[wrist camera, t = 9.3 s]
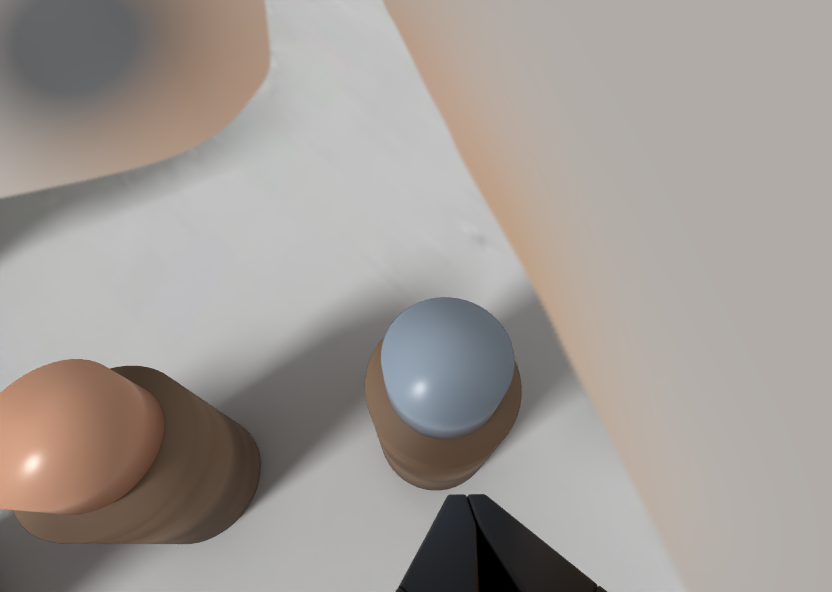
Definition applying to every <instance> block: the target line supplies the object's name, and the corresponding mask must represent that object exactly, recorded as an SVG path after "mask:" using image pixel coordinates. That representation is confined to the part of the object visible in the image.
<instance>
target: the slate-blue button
mask: <svg viewBox="0 0 832 592" xmlns="http://www.w3.org/2000/svg"><path fill="white" fill-rule="evenodd" d="M381 365H382V371H383V376H384V382H385V387H386V392H387V396H388V399H389V402H390V404H391V406H392V408H393V410H394V412H395V413H396V415H397V416H398V417H399V418H400V419H401V420H402V422H403V423H404V424H406V425H407V426H408V427H409V428H411V429H412V430H414V431H416V432H417V433H420V434H422V435H424V436H427V437H431V438H436V439H455V438H460V437H463V436H466V435H469V434H471V433H473V432H475V431H476V430H478V429H479V428H481V427H482V426H483V425H484V424H485V423H486V422H487V421H488V420H489V419H490V418H491V416H492V415H493V413H494V412H495V410H496V408H497V407H498V405H499V403H500V402H501V400H502V398H503V397H504V395H505V393H506V392H507V390H508V388H509V386H510V383H511V380H512V377H513V373H514V351H513V347H512V344H511V341H510V339H509V336H508V334H507V332H506V331H505V329H504V328H503V326H502V325H501V324H500V322H499V321H498V320H497V319H496V318H495V317H494V316H493V315H492V314H490V313H489V312H488V311H487V310H485V309H483V308H482V307H480V306H478V305H476V304H474V303H472V302H469V301H466V300H462V299H457V298H433V299H429V300H425V301H422V302H419V303H417V304H415V305H413V306H411V307H409V308H408V309H406V310H405V311H404V312H402V313H401V314H400V315H399V316H398V317H397V318H396V319H395V320H394V321H393V323H392V324H391V326H390V327H389V329H388V331H387V333H386V335H385V338H384V341H383V344H382V350H381Z"/></svg>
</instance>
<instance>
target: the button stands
mask: <svg viewBox="0 0 832 592" xmlns="http://www.w3.org/2000/svg"><path fill="white" fill-rule="evenodd" d="M384 338H385V337H384ZM384 338H383V339H382V340H381V341H380V343H379V344H378V346H377V347H376V349H375V350H374V352H373V354H372V356H371V358H370V361H369V364H368V367H367V372H366V377H365V395H366V401H367V406H368V409H369V412H370V415H371V418H372V420H373V423H374V426H375V429H376V432H377V435H378V438H379V441H380V444H381V447H382V449H383V452H384V455H385V457H386V459H387V461H388V463H389V465H390V466H391V467H392V469H393V470H394V471H395V472H396V473H397V474H398V475H399V476H400V477H401V478H402V479H403V480H405V481H407V482H408V483H410V484H412V485H414V486H416V487H419V488H422V489H427V490H445V489H450V488H453V487H456V486H458V485H460V484H462V483H464V482H465V481H467V480H468V479H469V478H471V477H472V476H473V475H474V474H475V473H476V471H477V470H478V469H479V468H480V467H481V466H482V464H483V463H484V462H485V461H486V460H487V458H488V457H489V456H490V455H491V453H492V452H493V451H494V450H495V449H496V447H497V446H498V445H499V444H500V443H501V441H502V440H503V439H504V438H505V437H506V435H507V434H508V433H509V431H510V430H511V428H512V426H513V425H514V422H515V420H516V418H517V415H518V412H519V408H520V403H521V379H520V374H519V370H518V367H517V364H516V362H515V360H514V373H513V377H512V380H511V383H510V386H509V388H508V390H507V392H506V393H505V395H504V397H503V398H502V400H501V402H500V403H499V405H498V407H497V408H496V410H495V412H494V413H493V415H492V416H491V418H490V419H489V420H488V421H487V422H486V423H485V424H484V425H483V426H482V427H481V428H479V429H478V430H476V431H475V432H473V433H471V434H469V435H466V436H463V437H460V438H455V439H436V438H431V437H427V436H424V435H422V434H420V433H417V432H416V431H414V430H412V429H411V428H409V427H408V426H407V425H406V424H404V423H403V422H402V420H401V419H400V418H399V417H398V416H397V415H396V413H395V412H394V410H393V408H392V406H391V404H390V402H389V399H388V396H387V392H386V387H385V382H384V376H383V371H382V365H381V350H382V344H383V341H384ZM111 370H112V371H114V372H116V373H118V374H119V375H121V376H123V377H124V378H126V379H128V380H130V381H131V382H133V383H135V384H137V385H138V386H140V387H142V388H144V389H145V390H147V391H148V392H150V393H151V394H152V395H153V396H154V397H155V398H156V400H157V401H158V403H159V405H160V407H161V409H162V413H163V417H164V434H163V440H162V443H161V446H160V449H159V452H158V454H157V456H156V458H155V460H154V462H153V464H152V465H151V467H150V468H149V470H148V471H147V473H146V474H145V475H144V476H143V478H142V479H141V480H140V481H139V482H138V483H137V484H136V485H135V486H134V487H133V488H132V489H131V490H130V491H129V492H128V493H126V494H125V495H124V496H122V497H121V498H119V499H118V500H116V501H115V502H113V503H111V504H110V505H108V506H106V507H104V508H101V509H99V510H96V511H93V512H89V513H85V514H78V515H65V514H54V513H42V512H31V511H19V510H13V512H14V514H15V516H16V518H17V520H18V521H19V522H20V524H21V525H22V526H23V527H24V528H25V529H26V530H27V531H28V532H29V533H31V534H33V535H34V536H36V537H38V538H40V539H43V540H46V541H49V542H55V543H76V544H192V543H199V542H202V541H205V540H208V539H210V538H213V537H215V536H217V535H218V534H220V533H222V532H223V531H225V530H226V529H227V528H229V527H230V526H231V525H232V524H233V523H234V522H235V521H236V520H237V519H238V518H239V517H240V516H241V515H242V514H243V512H244V511H245V509H246V508H247V507H248V505H249V503H250V501H251V500H252V498H253V496H254V493H255V491H256V488H257V485H258V481H259V476H260V455H259V450H258V448H257V445H256V443H255V441H254V439H253V437H252V436H251V435H250V433H249V432H248V431H247V430H246V429H244V428H243V427H242V426H240V425H239V424H237V423H236V422H234V421H233V420H232V419H230V418H229V417H227V416H226V415H224V414H223V413H221V412H220V411H218V410H217V409H215V408H214V407H212V406H211V405H210V404H208V403H207V402H205V401H204V400H202V399H201V398H199V397H198V396H196V395H195V394H193V393H192V392H190V391H189V390H188V389H186V388H185V387H183V386H182V385H180V384H179V383H177V382H176V381H174V380H173V379H171V378H170V377H168V376H167V375H165V374H164V373H162V372H160V371H158V370H155V369H152V368H148V367H142V366H122V367H115V368H111Z"/></svg>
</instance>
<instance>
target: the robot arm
mask: <svg viewBox="0 0 832 592" xmlns="http://www.w3.org/2000/svg"><path fill="white" fill-rule="evenodd" d="M396 592H607V591H606V590H605V589H603V588H602V587H601V586H597V584H596V583H595V582H594V581H592V580H591V579H590V578H589V577H587V576H586V575H585V574H584V573H582V572H581V571H580V570H579V569H577V568H576V567H575V566H574V565H572V564H571V563H570V562H569V561H567V560H566V559H565V558H564V557H562V556H561V555H560V554H559V553H557V552H556V551H555V550H554V549H552V548H551V547H550V546H549V545H548V544H546V543H545V542H544V541H543V540H541V539H540V538H539V537H538V536H536V535H535V534H534V533H533V532H531V531H530V530H529V529H528V528H526V527H525V526H524V525H523V524H521V523H520V522H519V521H518V520H516V519H515V518H514V517H513V516H511V515H510V514H509V513H508V512H506V511H505V510H504V509H503V508H501V507H500V506H499V505H498V504H497V503H495V502H494V501H493V500H492V499H490V498H489V497H488V496H486V495H484V494H470V495H468V496H467V497H466V495H448V496H447V498H446V500H445V502H444V504H443V505H442V507H441V509H440V511H439V513H438V515H437V517H436V518H435V520H434V522H433V524H432V526H431V528H430V530H429V531H428V533H427V535H426V537H425V539H424V541H423V543H422V544H421V546H420V548H419V550H418V552H417V554H416V556H415V557H414V559H413V561H412V563H411V565H410V567H409V569H408V570H407V572H406V574H405V576H404V578H403V580H402V582H401V583H400V585H399V587H398V589H397V590H396Z"/></svg>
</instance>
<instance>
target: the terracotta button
mask: <svg viewBox="0 0 832 592" xmlns="http://www.w3.org/2000/svg"><path fill="white" fill-rule="evenodd" d="M163 434H164V417H163V413H162V409H161V407H160V405H159V403H158V401H157V400H156V398H155V397H154V396H153V395H152V394H151V393H150V392H148V391H147V390H145V389H144V388H142V387H140V386H138V385H137V384H135V383H133V382H131V381H130V380H128V379H126V378H124V377H123V376H121V375H119V374H118V373H116V372H114V371H112V370H111V369H109V368H107V367H105V366H104V365H101V364H99V363H97V362H94V361H90V360H83V359H70V360H63V361H58V362H54V363H51V364H48V365H45V366H42V367H40V368H37V369H35V370H33V371H31V372H29V373H28V374H26V375H24V376H22V377H21V378H19V379H18V380H16V381H15V382H13V383H12V384H11V385H9V386H8V387H7V388H6V389H5V390H3V391H2V392H1V393H0V509H8V510H19V511H31V512H42V513H54V514H65V515H78V514H85V513H89V512H93V511H96V510H99V509H101V508H104V507H106V506H108V505H110V504H111V503H113V502H115V501H116V500H118V499H119V498H121V497H122V496H124V495H125V494H126V493H128V492H129V491H130V490H131V489H132V488H133V487H134V486H135V485H136V484H137V483H138V482H139V481H140V480H141V479H142V478H143V476H144V475H145V474H146V473H147V471H148V470H149V468H150V467H151V465H152V464H153V462H154V460H155V458H156V456H157V454H158V452H159V449H160V446H161V443H162V440H163Z"/></svg>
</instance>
